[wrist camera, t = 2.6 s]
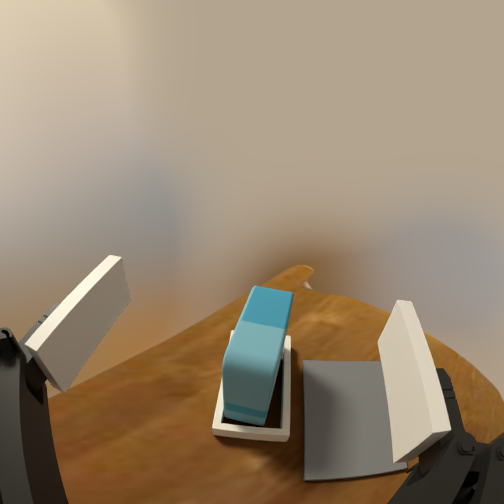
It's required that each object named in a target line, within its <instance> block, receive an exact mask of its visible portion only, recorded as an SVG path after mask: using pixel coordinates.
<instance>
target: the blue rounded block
mask: <svg viewBox="0 0 504 504" xmlns="http://www.w3.org/2000/svg"><path fill="white" fill-rule="evenodd" d="M293 296H294V294H293V293H292V292H286V291H281V290H275V289H270V288H265V287H260V286H254V287H253V288H252V290H251V293H250V295H249V297H248V300H247V302H246V305H245V307H244V309H243V312H242V314H241V316H240V319H239V321H238V323H237V326H236V328H235V330H234V333H233V335H232V337H231V340H230V342H229V344H228V347H227V349H226V352H225V355H224V359H223V364H222V384H223V405H224V416H225V417H226V418H230V419H233V420H237V421H241V422H245V423H250V424H254V425H259V426H263V425H264V424H265V420H266V417H267V413H268V409H269V405H270V401H271V398H272V394H273V390H274V386H275V382H276V378H277V374H278V370H279V365H280V361H281V357H282V352H283V348H284V343H285V338H286V333H287V328H288V323H289V318H290V312H291V307H292V302H293Z"/></svg>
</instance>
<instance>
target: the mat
mask: <svg viewBox="0 0 504 504" xmlns="http://www.w3.org/2000/svg"><path fill="white" fill-rule="evenodd" d="M303 393H304V481H315V480H334V479H346V478H356V477H364V476H371V475H378V474H384V473H389V472H394V471H399V470H404V469H406V468H407V462H402V463H393V449H392V437H391V427H390V418H389V409H388V401H387V394H386V387H385V381H384V375H383V369H382V363H381V361H314V360H303Z"/></svg>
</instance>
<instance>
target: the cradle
mask: <svg viewBox="0 0 504 504" xmlns="http://www.w3.org/2000/svg"><path fill="white" fill-rule="evenodd" d="M233 333H234V331H231V336H230V340H231V337H232V335H233ZM229 342H230V341H229ZM290 391H291V346H290V336H286V338H285V343H284V348H283V359H282V395H281V421H280V429H276V428H262V427H251V426H241V425H233V424H225V423H223V418H224V405H223V384H222V381H221V386H220V391H219V396H218V401H217V406H216V410H215V415H214V420H213V425H212V431H213V435H219V436H226V437H233V438H242V439H252V440H263V441H280V442H287V440H288V438H289V436H290Z"/></svg>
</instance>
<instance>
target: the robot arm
mask: <svg viewBox="0 0 504 504" xmlns="http://www.w3.org/2000/svg"><path fill="white" fill-rule="evenodd" d="M130 301H131V299H130V295H129V291H128V286H127V282H126V277H125V272H124V268H123V262H122V258H121V257H117V256H112V255H109V256H108V257H107V258H106V259H105V260H104V261H103V262H102V263H101V264H100V265H99V266H98V267H97V268H96V269H94V270H93V271H92V272H91V274H89V275H88V276H87V277H86V278H85V279H84V280H83V281H82V282H81V283H80V284H79V285H78V286H77V287H76V288H75V289H74V290H73V291H72V292H71V293H70V294H69V295H68V296H67V297H66V298H65V300H64V301H63V302H62V303H61V302H58V303H57V304H55V305H53V306H52V307H50V308H49V309H48V311H46V313H45V314H44V316H42V317H41V318H40V319H39V320H38V322H36V324H35V325H34V326H33V327H32V328H31V329H30V330H29V332H27V334H26V335H25V336H24V337H23V338H22V339H21V341H20V342H19V343H18V342H17V341H16V339H15V337H14V335H13V334H12V332H11V330H10V329H8V328H0V504H69V503H68V500H67V497H66V494H65V490H64V487H63V483H62V480H61V476H60V472H59V468H58V463H57V459H56V454H55V449H54V443H53V437H52V431H51V424H50V416H49V408H48V397H47V387H46V384H45V381H46V380H47V379H48V380H49V382H50V383H51V385H52V386H53V387H55V388H56V389H58V390H60V391H61V392H63V393H66V391H67V390H68V388H69V387H70V385H71V383H72V382H73V380H74V379H75V377H76V376H77V374H78V373H79V371H80V370H81V369H82V367H83V366H84V364H85V363H86V361H87V360H88V358H89V357H90V356H91V354H92V353H93V351H94V350H95V348H96V347H97V346H98V344H99V343H100V341H101V340H102V339H103V337H104V336H105V335H106V333H107V332H108V330H109V329H110V327H111V326H112V325H113V323H114V322H115V321H116V320H117V318H118V317H119V316H120V314H121V313H122V312H123V310H124V309H125V308H126V306H127V305H128V304H129V302H130ZM378 347H379V352H380V357H381V363H382V369H383V375H384V381H385V387H386V394H387V401H388V409H389V418H390V427H391V437H392V449H393V463H402V462H410V461H412V460H413V459H415V458H416V457H417V456H418V457H419V462H418V463H417V464H415V465H414V466H412V467H411V468H409V469H408V470H407V471H406V473H409V472H410V471H411V473H410V474H409V476H408V477H407V479H406V480H405V481H404V483H403V484H402V485H401V487H400V488H399V489H398V491H397V492H396V493H395V495H394V496H393V497H392V498H391V500H390V501H389V502H388V503H387V504H504V433H502V434H501V435H499V436H498V437H497V438H496V439H494V440H493V441H492V442H491V443H489V444H486V443H479V442H476V440H475V438H474V437H473V436H472V435H471V434H470V433H467V432H465V430H464V427H463V423H462V419H461V415H460V411H459V407H458V403H457V400H456V399H455V397H456V396H455V393H454V391H453V386H452V383H451V379H450V377H449V376H448V374H447V373H446V372H445V370H444V369H443V368H437V369H435V365H434V362H433V359H432V356H431V353H430V350H429V347H428V344H427V341H426V338H425V336H424V333H423V330H422V327H421V325H420V322H419V319H418V317H417V314H416V312H415V309H414V307H413V304H412V302H411V301H403V300H397V302H396V304H395V306H394V308H393V311H392V313H391V315H390V317H389V319H388V322H387V324H386V326H385V328H384V330H383V332H382V334H381V336H380V338H379V340H378Z"/></svg>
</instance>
